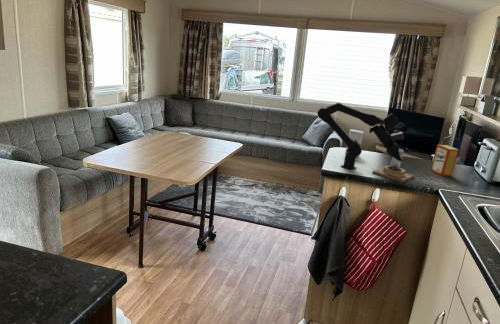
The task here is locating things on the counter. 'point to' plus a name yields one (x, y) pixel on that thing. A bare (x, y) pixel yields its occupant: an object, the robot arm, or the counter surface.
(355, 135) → the skincare box
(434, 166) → the baking soda box
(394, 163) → the piston
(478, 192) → the counter surface
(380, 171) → the ring board
